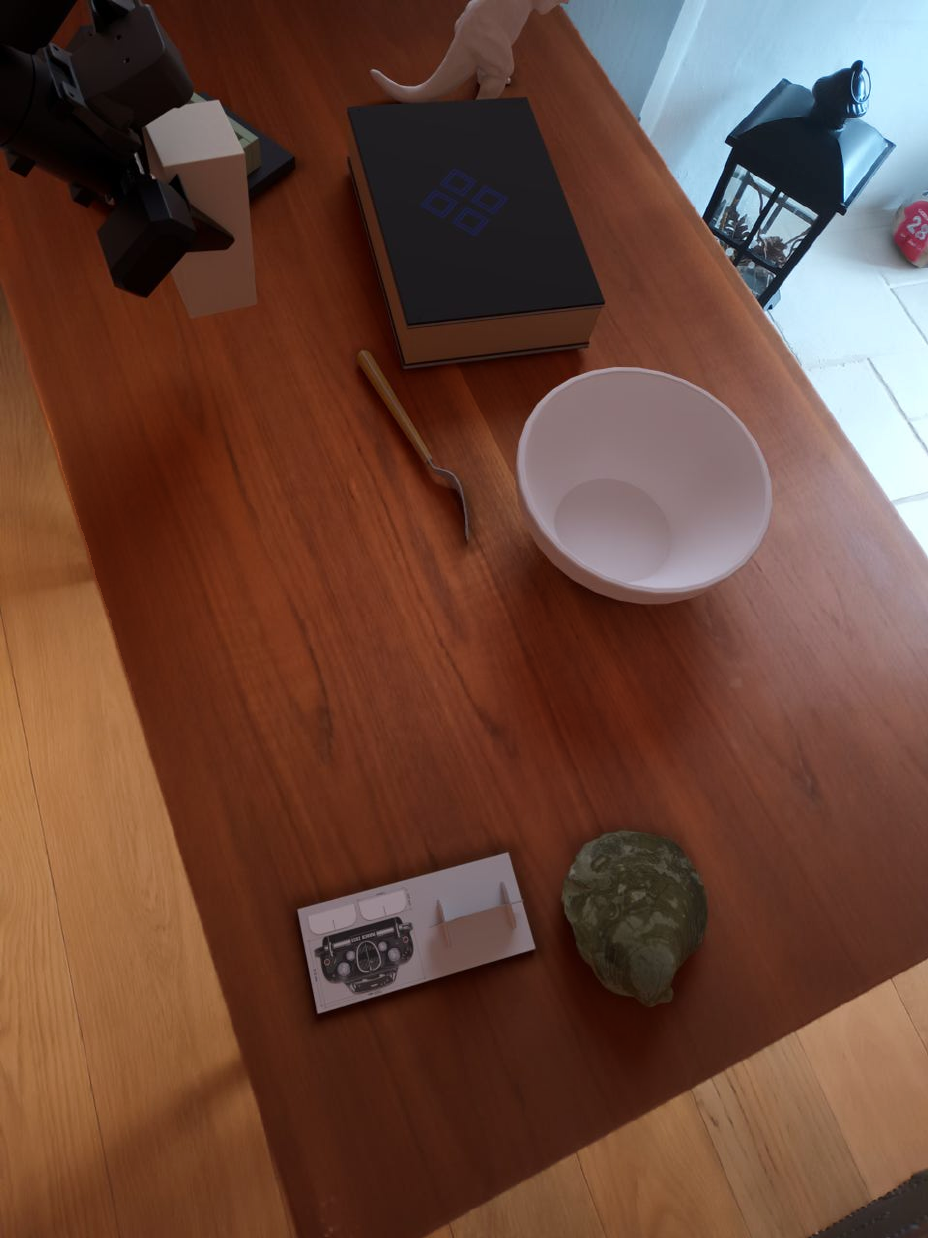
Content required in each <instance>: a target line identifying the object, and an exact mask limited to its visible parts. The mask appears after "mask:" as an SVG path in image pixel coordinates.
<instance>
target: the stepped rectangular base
mask: <svg viewBox="0 0 928 1238" xmlns="http://www.w3.org/2000/svg"><path fill="white" fill-rule="evenodd" d="M214 100H216V99H215V98H214V97H212V96H211V95H209V94H208V93H206V92H205V91H204V90H202V91H200V92H199V93H196V92H194V93H193V96H192V98H191V99H190V101H189V102H188V103H187V104H193V103H200V102H207V101H214ZM220 104H221V106H222V108H223V110H224V112H225V114H226V116H227V118H228V120H229V122H230V124H231V126H232V128H233V130H234V132H235V134H236V136H237V138H238V141H239V143H240V145H241V147H242V149H243V151H244V153H245V161H246V173H247V185H248V197H249V201H250V200H252V199H253V198H254V197H256V196H257V195H258V194H260V193H261V192H262V191H264V190H265V189H267V188H268V187H269V186H270V185H272V184H273V183H275V182H276V181H278V180H279V179H280V178H282V177H283V176H285V175H286V174H287V173H289V172H290V171H291V170H293V169H294V168H295V167H296V156H295V155H294V154H293V153H291V151H288V150H287V149H286V148H284V147H283V146H281V145H280V144H279V143H278V142H276V141H274V140H273V139H271V138H270V137H269V136H267V135H266V134H264V133H263V132H262V131H260V130H259V129H258V128H256V127H255V126H253V125H251V124H250V123H249V122H247V121H246V120H245V119H243V118H242V117H240V116H239V115H238V114H236V113H235V112H234V111H232V110H230V108H228V107H226V106H225V105H224V104H222V103H221V102H220ZM185 105H186V104H185ZM96 198H97V199H99V200H100V201H101V202H103V203H104V204H105V205H107V206H108V207H110V208H111V210H112V211H113V210H114V209H115V208H116V205H115V204H114V205H111V204H109V203H107V201H106V198H105V195H101V194H98V195H97V196H96Z"/></svg>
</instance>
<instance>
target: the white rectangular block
mask: <svg viewBox="0 0 928 1238" xmlns="http://www.w3.org/2000/svg"><path fill="white" fill-rule="evenodd" d="M220 103H221V102H220V100H219V99H215V100H214V101H207V102H200V103H193V104H186V105H184V106H182V107H181V108H173V109H172V110H170V111H168V112H167V113H165V114H164V115H162V116H160V117H159V118H157V119H156V120H154V121H153V122H151V123H149V124H148V125H146V126H144V127H143V128H142V132H143V137H144V142H145V147H146V152H147V157H148V162H149V168H150V173H151V174H152V175H153V176H154V177H155V178H156V179H159V180H161V181H163V182H164V183H166V184H169V182H170V181H171V180H172V179H173V178H174V176H175V175H176V174H177V173H178V174H179V176H180V178H181V181H182V183H183V186H184V189H185V191H186V194H187V196H188V199H189V202H190V204H192V205H193V206H194V207H196V208H197V209H199V210H200V211H201V212H203V213H204V214H205V215H207V216H208V217H210V218H211V219H212V220H214V221H215V222H217V223H218V224H219V225H221V226H222V227H223V228H224V229H225V230H227V231H228V232H229V233H230V234H232V235H233V237H234V239H235V241H234V243H233V244H232V245H231V246H230V247H229V248H228V249H227V250H220V251H204V252H188V253H186V254H185V255H184V256H183V257H182V258H181V260H180V261H179V262H178V263H177V264H176V265H175V266H174V268H173V269H172V270H171V271H170V272H169V273H170V275H171V277H172V279H173V281H174V284H175V286H176V289H177V291H178V294H179V296H180V299H181V301H182V303H183V306H184V307H185V310H186V312H187V315H188V317H189V319H190V320H192V319H198V318H202V317H207V316H210V315H211V316H212V315H215V314H221V313H224V312H229V311H230V312H231V311H235V310H238V309H243V308H247V307H253V306H257V305H258V298H257V283H256V274H255V273H256V272H255V259H254V249H253V248H254V247H253V235H252V224H251V213H250V212H251V210H250V200H249V197H248V185H247V173H246V161H245V153H244V151H243V149H242V147H241V145H240V143H239V141H238V138H237V136H236V134H235V132H234V130H233V128H232V126H231V124H230V122H229V120H228V118H227V116H226V114H225V112H224V110H223V108H222V106H221V104H222V103H221V104H220Z"/></svg>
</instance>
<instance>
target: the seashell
mask: <svg viewBox="0 0 928 1238" xmlns="http://www.w3.org/2000/svg"><path fill="white" fill-rule="evenodd" d="M561 892H562V893H561V899H560V902H561V905H562V907H563V909H564V915H565V916H566V919H567V921H568V922H569V924H570V926H571V928H572V931H573V934H574V939H575V942H576V943H575V944H576V949H577V952H578V954H579V956H580V957H581V959H582V960H583V961H584V962H585V963H586V964H588V965H589V967H590V969H591V970H592V972H593V973H594V975H595V976H596V978H597V980H598V981H599V982H600V983H601V984H602V985H603V986H604V988H605V989H607V990H609V992H611V993H614V994H616V995H620V996H624V997H633V998H635V999H636V1000H637V1001H638V1002H639V1003H640V1004H642V1005H644V1006H645V1007H647V1008H651V1007H654V1006H656V1005H658V1004H663V1003H670V1002H671V1001H672V1000H673V996H674V991H673V988H672V987H671V985H672V982H673V979H674V977H675V974H676V972H677V971H678V969H679V968H680V967H681V966H682V965H683V964H684V963H685V962H686V960H687V959H688V958H689V956H690V955H691V954H693V953H694V952H695V951H696V950H698V949H699V948H700V947H701V945H702V943H703V939H704V935H705V933H706V931H707V928H708V921H709V905H708V898H707V893H706V889H705V887H704V884H703V882H702V879H701V875H700V874H699V873H698V871H697V869H696V868H695V866H694V864H693V863H692V861H691V860H690V859H689V857H688V856H687V855H686V853H685V851H684V850H683V849H682V847H681V846H680V845H679V844H678V843H677V842H676V841H675V840H672V839H671V838H670V837H664V836H660V835H656V834H652V833H647V832H640V831H630V830H628V829H627V830H626V829H620V830H618V831H615V832H606V833H605V832H604V833H602V834H601V835H600V836H599V837H598V838H595V839H592V840H591V841H587V842H585V843H584V844H583V845H582V846H581V848H580V850H579V851H578V852H577V854H576V856H575V858H574V859H573V863H572V865H571V866H570V868H569V870H568V872H567V874H566V876H565V878H564V880H563V881H562V891H561Z"/></svg>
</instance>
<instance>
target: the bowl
mask: <svg viewBox="0 0 928 1238" xmlns="http://www.w3.org/2000/svg"><path fill="white" fill-rule="evenodd" d="M516 449H517V450H516V458H515V467H514V480H515V488H516V496H517V497H516V498H517V505H518V507H519V511H520V513H521V516H522V519H523V522H524V525H525V527H526V529H527V531H528V532H529V534H530V536H531V537H532V539H533V541H534V542H535V544H536V546H537V547H538V548H539V550H541V552H542V553H543V554H544V555H545V556H546V557H547V559H548V560H549V561H550V562H551V564H553V565H554V566H555V568H557V569H558V570H559V571H561V572H562V573H563V574H565V575H566V577H568V578H569V579H571V580H572V581H574V582H575V583H577V584H579V585H580V586H582V587H584V588H586V589H587V590H589V591H591V592H594V593H596V594H599V595H601V596H605V597H608V598H610V599H613V600H616V601H620V602H627V603H633V604H640V605H668V604H671V603H677V602H681V601H686V600H690V599H692V598H695V597H697V596H699V595H702V594H704V593H707V592H708V591H711V590H713V589H715V588H717V587H719V586H721V585H723V584H725V582H726V581H728V580H729V579H730V578H732V577H733V576H734V575H736V573H739V571H740V570H741V569H743V568H744V567H746V565H747V564H748V563H749V562H750V561H751V559H752V558H753V557H754V556H755V555H756V553H757V552H758V551H759V549H760V547H761V545H762V544H763V541H764V539H765V537H766V534H767V532H768V531H769V528H770V523H771V517H772V512H773V483H772V480H771V477H770V476H771V475H770V472H769V468H768V464H767V462H766V459H765V457H764V455H763V453H762V451H761V449H760V446H759V444H758V443H757V441H756V440H755V438H754V437H753V435H752V434H751V432H750V431H749V429H748V428H747V426H746V425H745V424H744V422H743V421H742V420H741V419H739V418H738V416H737V415H736V414H735V412H733V411H732V410H731V409H730V408H729V407H728V406H727V405H726V404H724V403H723V402H722V401H720V400H719V399H718V398H717V397H715V396H714V395H712V394H711V393H710V392H708V391H707V390H705V389H703V388H702V387H699V386H697V385H695V384H694V383H692V382H689V381H688V380H686V379H683V378H680V377H678V376H675V375H672V374H669V373H666V372H663V371H659V370H653V369H648V368H643V367H628V366H627V367H626V366H625V367H623V366H621V367H620V366H618V367H617V366H613V367H608V368H603V369H601V368H600V369H594V370H591V371H587V372H585V373H582V374H579V375H577V376H574V377H571V378H569V379H567V380H566V381H564V382H563V383H560V384H559V385H558V386H556V387H554V388H553V389H551V390H550V391H549V392H548V393H547V394H546V395H545V396H544V397H543V398H541V400H540V401H539V402H538V403H537V404H536V406H535V407H534V409H533V410H532V412H531V413H530V415H529V416H528V418H527V419H526V421H525V423H524V426H523V428H522V432H521V435H520V438H519V440H518V444H517V448H516Z"/></svg>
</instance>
